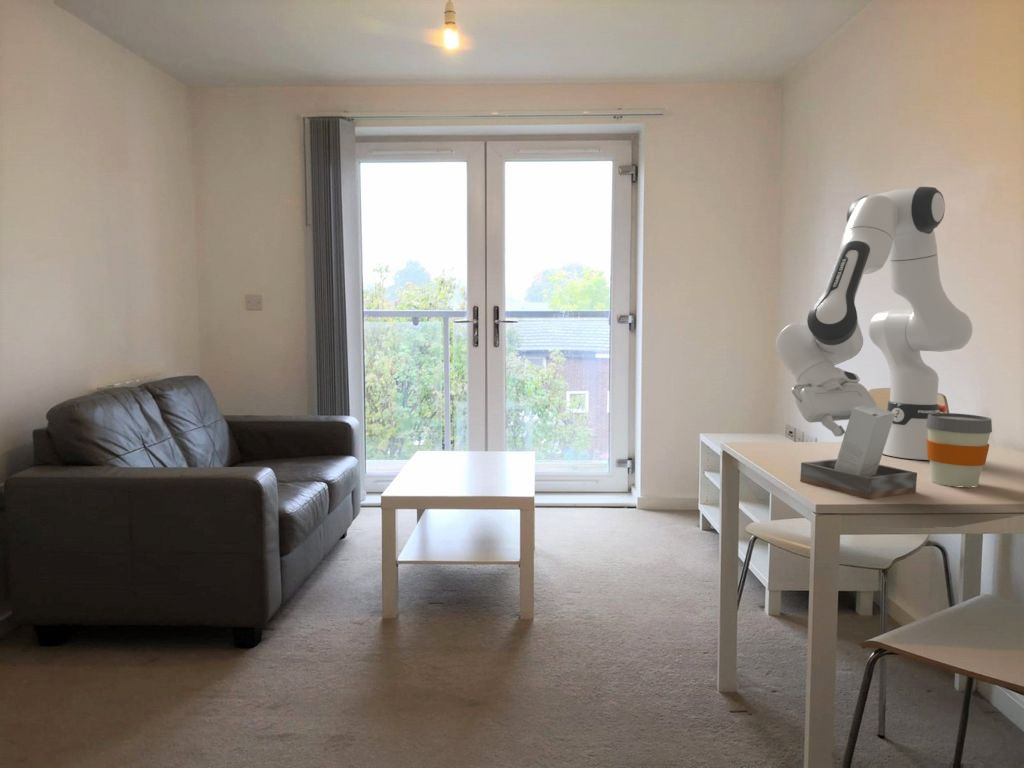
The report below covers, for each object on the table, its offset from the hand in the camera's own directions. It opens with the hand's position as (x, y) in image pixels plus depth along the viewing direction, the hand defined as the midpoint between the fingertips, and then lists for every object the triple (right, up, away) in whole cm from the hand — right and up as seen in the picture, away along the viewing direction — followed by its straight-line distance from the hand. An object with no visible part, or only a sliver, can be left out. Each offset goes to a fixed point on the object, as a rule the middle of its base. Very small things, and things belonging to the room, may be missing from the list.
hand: (856, 433), depth 158 cm
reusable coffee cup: (+24, -12, +5) cm, 28 cm away
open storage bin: (0, -12, 0) cm, 12 cm away
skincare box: (0, -9, +1) cm, 9 cm away
